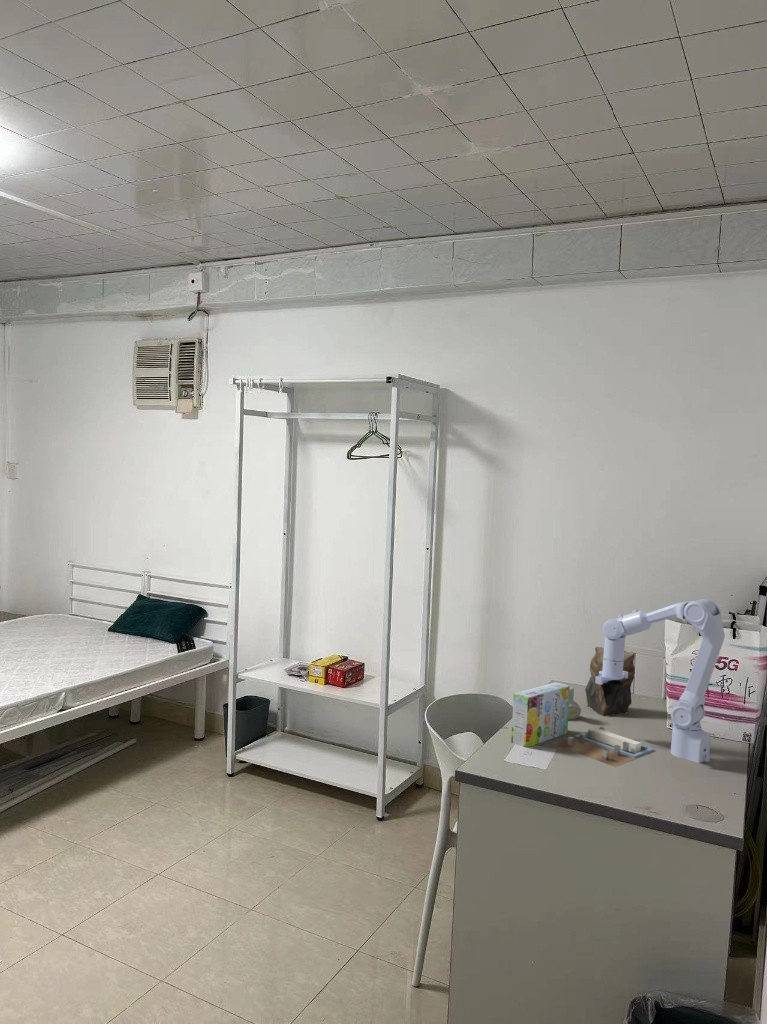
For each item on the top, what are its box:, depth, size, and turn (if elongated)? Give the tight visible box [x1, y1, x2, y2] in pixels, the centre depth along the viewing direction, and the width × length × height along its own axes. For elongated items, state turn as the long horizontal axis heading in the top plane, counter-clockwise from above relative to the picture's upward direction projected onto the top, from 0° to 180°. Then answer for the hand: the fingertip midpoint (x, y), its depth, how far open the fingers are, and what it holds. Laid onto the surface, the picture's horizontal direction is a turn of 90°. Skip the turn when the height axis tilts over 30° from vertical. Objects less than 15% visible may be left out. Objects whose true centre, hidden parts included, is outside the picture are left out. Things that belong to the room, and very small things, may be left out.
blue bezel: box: [573, 730, 654, 758], centre depth 213 cm, size 19×10×1 cm, turn 42°
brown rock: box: [585, 646, 636, 717], centre depth 249 cm, size 13×13×20 cm
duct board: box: [550, 735, 656, 768], centre depth 210 cm, size 20×21×1 cm
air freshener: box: [568, 685, 582, 720], centre depth 237 cm, size 11×8×10 cm
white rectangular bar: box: [587, 726, 642, 753], centre depth 213 cm, size 15×3×2 cm, turn 42°
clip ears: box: [567, 726, 641, 760], centre depth 210 cm, size 12×17×2 cm
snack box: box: [510, 681, 571, 748], centre depth 215 cm, size 21×6×15 cm, turn 134°
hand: (610, 705), depth 222 cm, fingers closed
